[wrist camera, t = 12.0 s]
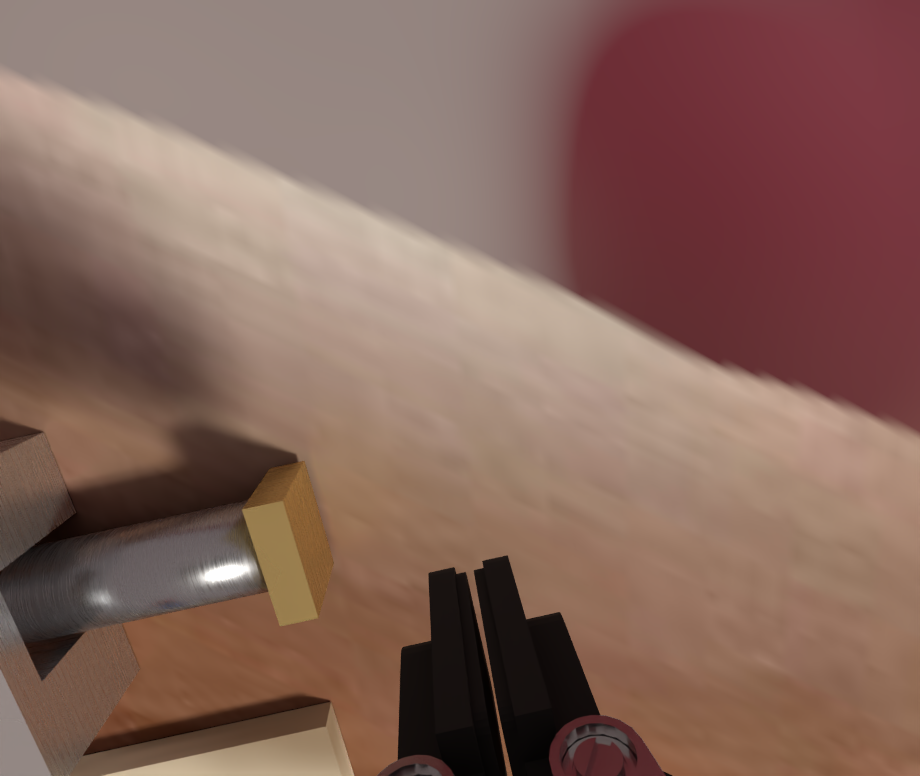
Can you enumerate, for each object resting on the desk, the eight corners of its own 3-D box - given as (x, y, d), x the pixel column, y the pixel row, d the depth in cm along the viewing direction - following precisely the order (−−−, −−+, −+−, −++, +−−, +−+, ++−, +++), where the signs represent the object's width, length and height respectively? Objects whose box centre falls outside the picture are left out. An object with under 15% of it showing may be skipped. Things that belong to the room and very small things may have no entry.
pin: (333, 562, 21) (318, 618, 18) (82, 616, 21) (22, 682, 18) (304, 460, 20) (282, 500, 17) (39, 517, 20) (-32, 568, 17)
